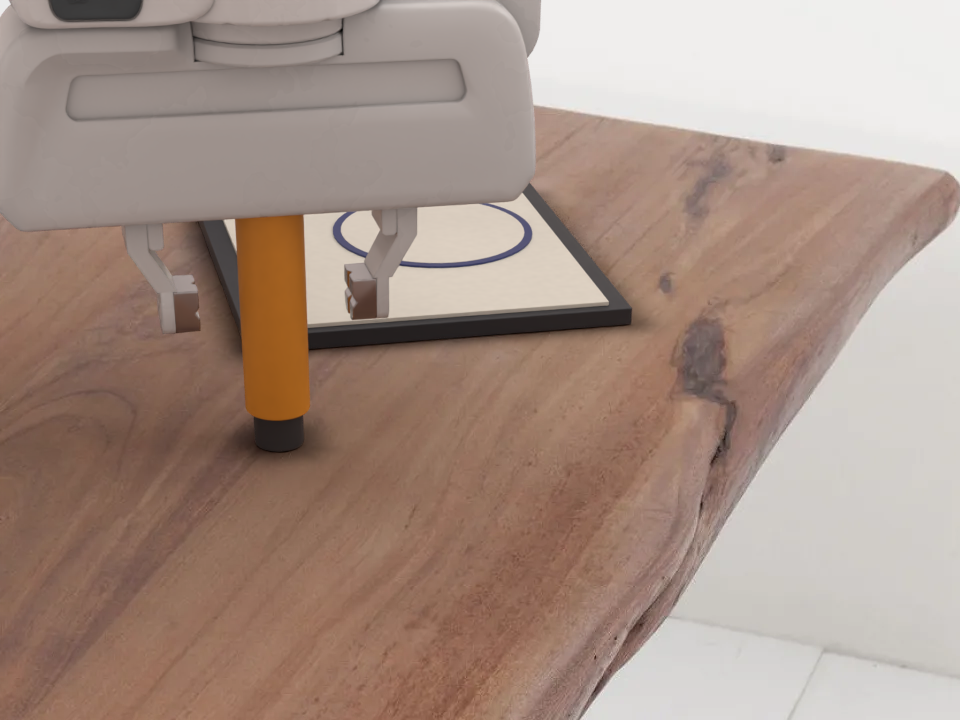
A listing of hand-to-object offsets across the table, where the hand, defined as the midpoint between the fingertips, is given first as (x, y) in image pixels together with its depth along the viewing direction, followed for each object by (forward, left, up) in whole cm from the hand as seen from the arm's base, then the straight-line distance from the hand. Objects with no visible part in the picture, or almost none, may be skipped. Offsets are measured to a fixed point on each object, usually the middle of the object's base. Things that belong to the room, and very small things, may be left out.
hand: (274, 321), depth 74 cm
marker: (0, 0, -5) cm, 5 cm away
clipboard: (+9, +18, -5) cm, 21 cm away
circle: (+11, +20, -4) cm, 23 cm away
